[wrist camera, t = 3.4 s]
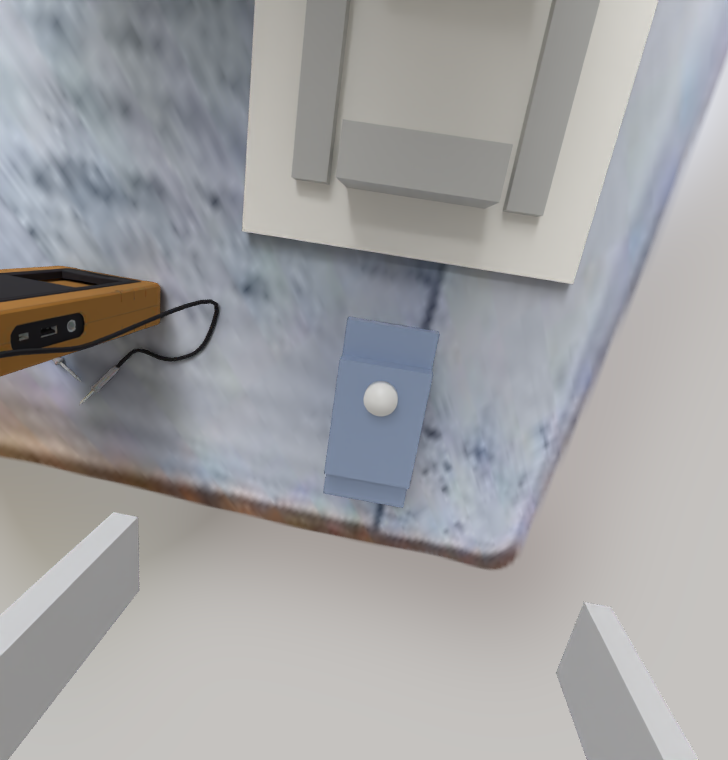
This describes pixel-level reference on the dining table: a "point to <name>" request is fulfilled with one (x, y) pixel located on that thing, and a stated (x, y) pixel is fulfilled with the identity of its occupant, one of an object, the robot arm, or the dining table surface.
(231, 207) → the dining table surface
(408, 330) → the block
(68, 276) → the multimeter
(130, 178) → the dining table surface
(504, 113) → the slot plate
